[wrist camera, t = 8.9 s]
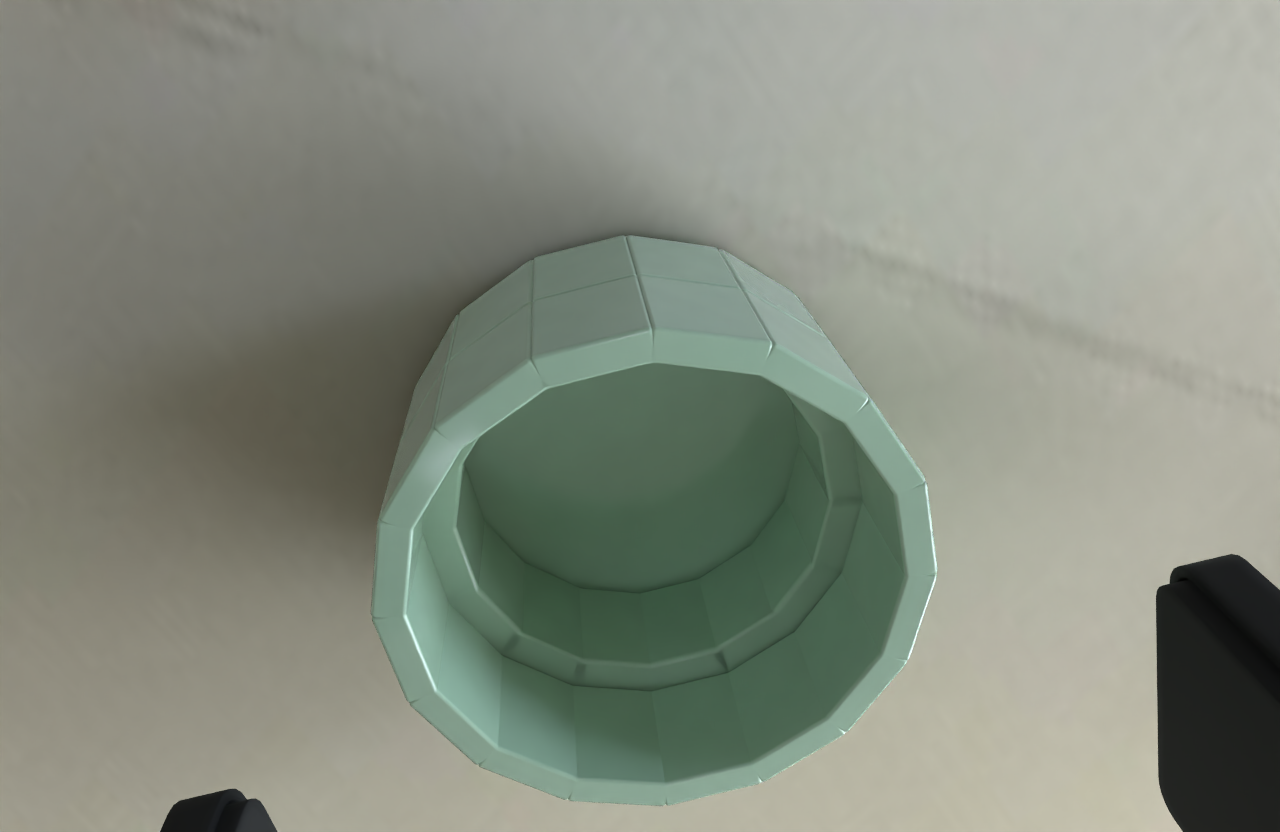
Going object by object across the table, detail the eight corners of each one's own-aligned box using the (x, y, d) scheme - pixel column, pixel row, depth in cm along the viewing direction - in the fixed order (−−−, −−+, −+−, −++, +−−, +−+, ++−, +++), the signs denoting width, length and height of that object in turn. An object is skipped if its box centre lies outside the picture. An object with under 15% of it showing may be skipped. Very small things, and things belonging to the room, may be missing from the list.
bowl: (486, 655, 19) (471, 854, 15) (350, 293, 16) (283, 419, 12) (867, 562, 19) (959, 737, 15) (806, 178, 16) (901, 264, 12)
